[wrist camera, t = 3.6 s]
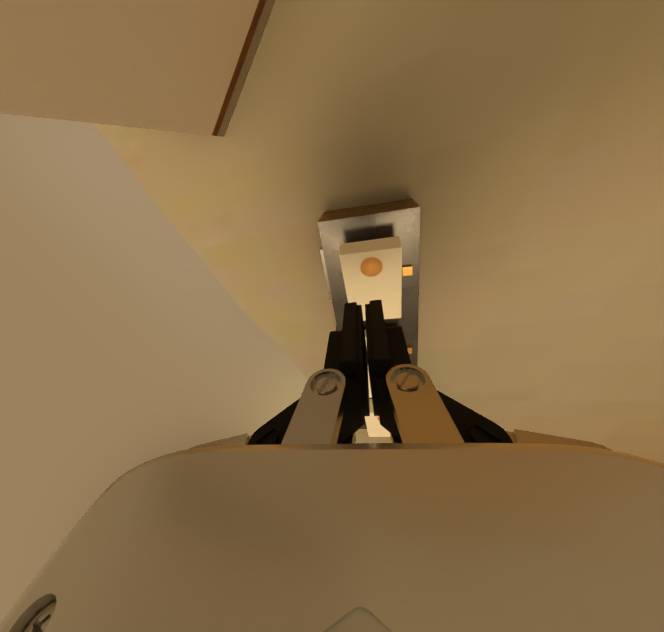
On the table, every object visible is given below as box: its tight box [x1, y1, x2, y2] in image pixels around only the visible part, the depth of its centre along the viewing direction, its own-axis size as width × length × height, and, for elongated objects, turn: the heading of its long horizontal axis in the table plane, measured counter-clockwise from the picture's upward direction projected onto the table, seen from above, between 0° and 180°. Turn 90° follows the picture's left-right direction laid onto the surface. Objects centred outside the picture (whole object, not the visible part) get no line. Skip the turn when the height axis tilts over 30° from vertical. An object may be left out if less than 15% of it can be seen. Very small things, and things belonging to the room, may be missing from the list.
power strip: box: [318, 199, 420, 429], centre depth 29 cm, size 28×8×4 cm, turn 10°
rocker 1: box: [339, 236, 402, 321], centre depth 21 cm, size 7×4×2 cm, turn 10°
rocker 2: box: [365, 399, 390, 437], centre depth 30 cm, size 7×4×2 cm, turn 10°
